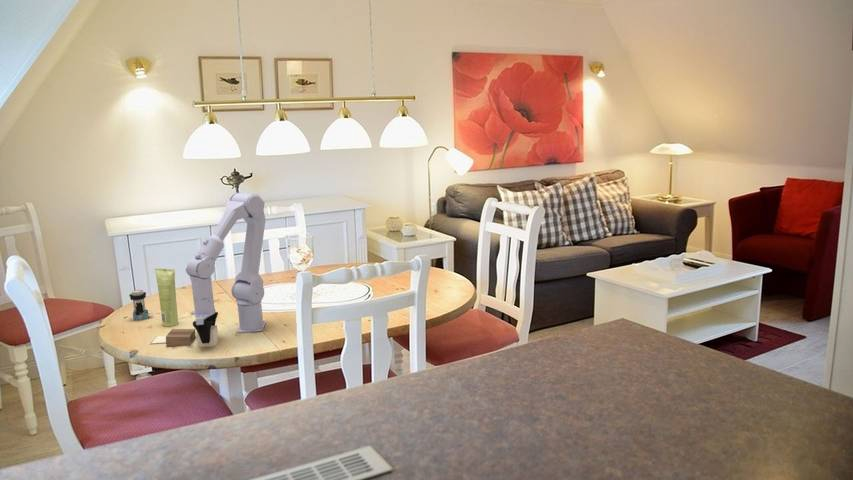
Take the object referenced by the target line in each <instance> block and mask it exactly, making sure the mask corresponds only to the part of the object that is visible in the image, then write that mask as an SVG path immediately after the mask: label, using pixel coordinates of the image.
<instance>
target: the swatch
mask: <svg viewBox="0 0 853 480" xmlns="http://www.w3.org/2000/svg"><path fill="white" fill-rule="evenodd" d="M166 336H167V335H159V336H155V338H154V339H153V340H152V341H151V342H150V344H149V346H150V345H162V344H163V345H164V344H165V345H166Z"/></svg>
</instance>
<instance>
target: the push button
mask: <svg viewBox="0 0 853 480" xmlns="http://www.w3.org/2000/svg"><path fill="white" fill-rule="evenodd" d="M128 296H129V299H130V301H132V303H133V312H132V317H133V318H132V320H133V321H142V320H148V319H149V318H150V317H151V318H152V317H153V314H154V312H151V313H149V310H148V309H147V308H146V304H145V303H146V302H145V298H146V297H147V292H145V291H144V290H143V289H136V290H133V291H131V293H130V294H129V295H128Z"/></svg>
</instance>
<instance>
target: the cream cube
mask: <svg viewBox="0 0 853 480" xmlns="http://www.w3.org/2000/svg"><path fill="white" fill-rule="evenodd" d="M196 341H197V348H203V347H204V348H205V347H206V348H207V347H216V345H217V343H218V342H219V331H218V325H216V324H215V326H211V330H210V342H209V343H202V342H201V339H200V336H199V334H198V332H197V331H196Z"/></svg>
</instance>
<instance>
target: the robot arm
mask: <svg viewBox="0 0 853 480" xmlns="http://www.w3.org/2000/svg"><path fill="white" fill-rule="evenodd" d="M228 199H229V200H227V202H226V203H225V210H224V212H223V214H222V217H221V218H220V221H219V223H218V224H217V226H216V228H215V231H214V232H213V234H211V235H210V236H209V235H208V236H207V237H206V238H204V239H203V240H202V243H203V244H202V245H201V246H200V248H199V250H198V252H197V253H196V254H195V255H194V257H193V258H191V259H190V260H188V263H187V265H186V268H185V273H186V274H187V275H188V276H189V279H190V283H191V290H192V291H191V292H192V297H193V306H194V310H192V311H191V312H190V315H192V316H194V317H195V319H196V320H194V321H192V326H193V327H194V329H195V331H196V333H197V332H198V334H199V336H200V339H201V342H202V343H209V342H210V330H211V326H216V321H217V318H218V315H219V312H218V311H216V309H215V301H214V293H213V291H214V290H213V283H212V282H213V281H212V275H213V274H214V272H215V264H216V261H217V259H218V257H219V256H220V254H221V252H222V251H223V249H224V247H225V244H224V240H225V238H226V237H227V236H228V234H229V233H230V231H231V230H232V228H233V227H234V226H235V224H236V223H237V221H239V220H241V219H243V220H244V221H245V222H246V231H245V239H244V244H243V245H244V247H243V254H242V260H241V261H242V262H241V269H240V272H239V273H238V274H237V275H236V276H235V277H234V283H233V285H232V286H231V290H230V291H231V292H230V294H231V296H232V297H233V298H234V299H235V303H237V312H238V313H237V315H238V323H239V326H238V328H237V330H236V333H238V334H239V333H240V334H241V333H253V332H262V331H264V327H265V325H266V323H267V320H264V318H263V308H262V300H263V298H264V296H265V288H264V279H263V278H262V277H261V275H260V263H261V258H262V249H263V242H264V234H265V226H266V215H265V210H264V209H265V205H266V204H265V201H264V199H262V197H261V196H260V195H259V194H256V193H252V194H251V193H242V192H234V193H232V194H231V195H230V197H229V198H228Z"/></svg>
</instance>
